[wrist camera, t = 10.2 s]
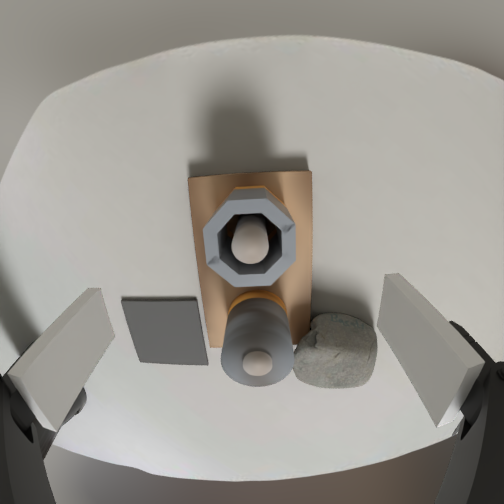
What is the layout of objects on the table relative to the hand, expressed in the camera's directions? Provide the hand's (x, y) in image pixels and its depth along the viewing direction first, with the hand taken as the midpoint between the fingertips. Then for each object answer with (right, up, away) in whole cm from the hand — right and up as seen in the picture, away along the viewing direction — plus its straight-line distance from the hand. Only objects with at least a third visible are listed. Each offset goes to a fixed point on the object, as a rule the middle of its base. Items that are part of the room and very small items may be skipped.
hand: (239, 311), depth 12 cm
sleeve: (0, +6, +16) cm, 17 cm away
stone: (+10, -9, +23) cm, 27 cm away
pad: (-11, -8, +23) cm, 26 cm away
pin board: (+1, +1, +19) cm, 19 cm away
